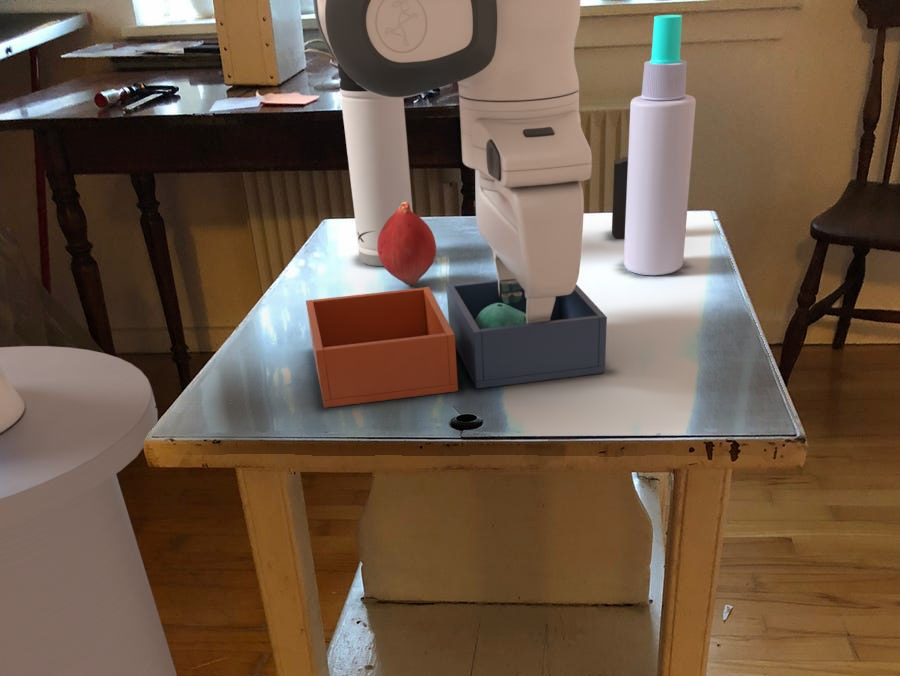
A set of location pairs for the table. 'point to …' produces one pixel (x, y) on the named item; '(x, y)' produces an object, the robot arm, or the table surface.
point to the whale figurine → (499, 316)
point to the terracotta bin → (381, 347)
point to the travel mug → (374, 161)
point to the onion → (406, 245)
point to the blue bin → (526, 338)
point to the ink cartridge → (619, 197)
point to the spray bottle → (659, 158)
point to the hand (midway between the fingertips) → (522, 318)
